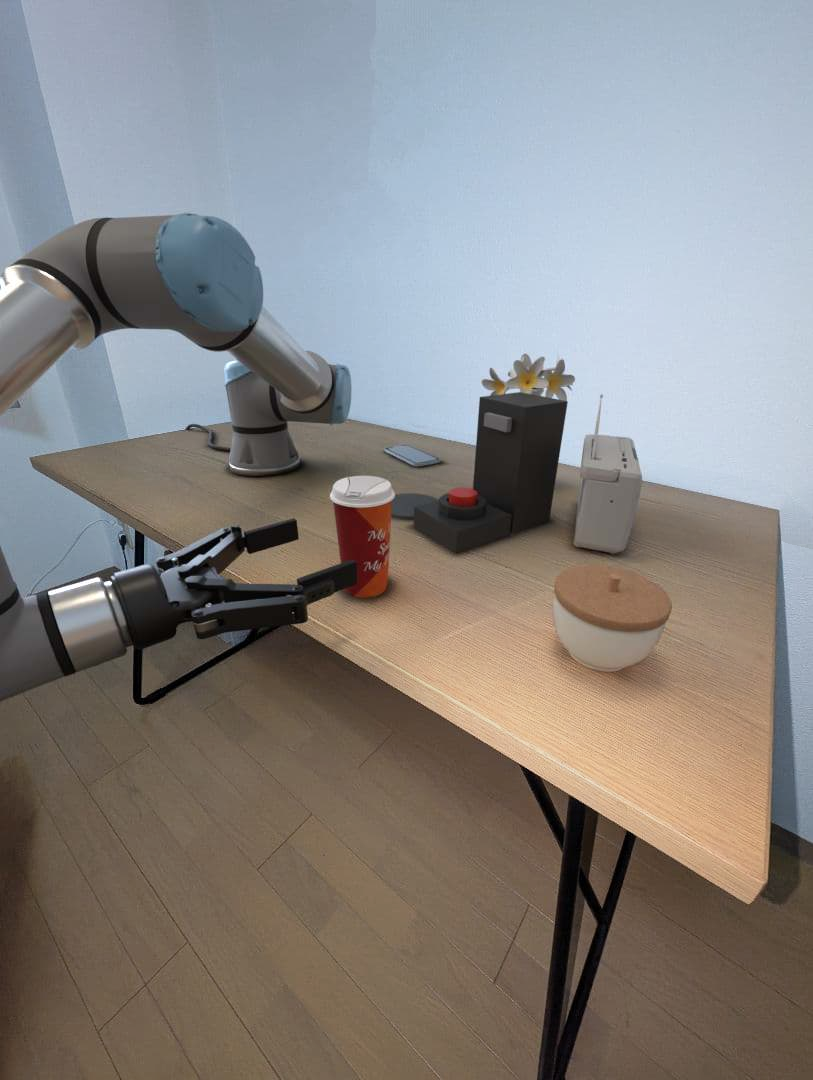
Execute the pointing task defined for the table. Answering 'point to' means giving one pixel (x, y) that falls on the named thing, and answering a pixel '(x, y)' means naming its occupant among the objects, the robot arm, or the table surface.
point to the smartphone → (412, 455)
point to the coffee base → (461, 523)
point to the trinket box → (608, 615)
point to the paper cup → (364, 530)
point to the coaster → (408, 504)
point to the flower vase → (532, 378)
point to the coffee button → (463, 497)
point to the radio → (607, 492)
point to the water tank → (519, 455)
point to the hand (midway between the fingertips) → (323, 548)
